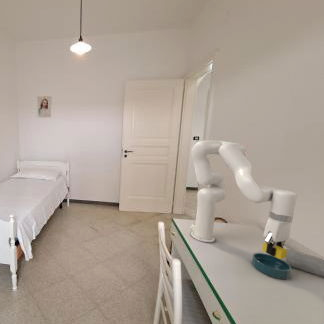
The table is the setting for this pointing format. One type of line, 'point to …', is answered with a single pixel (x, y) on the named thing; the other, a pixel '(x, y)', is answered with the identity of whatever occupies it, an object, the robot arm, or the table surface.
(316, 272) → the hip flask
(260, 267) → the bowl
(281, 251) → the sponge
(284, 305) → the table surface
